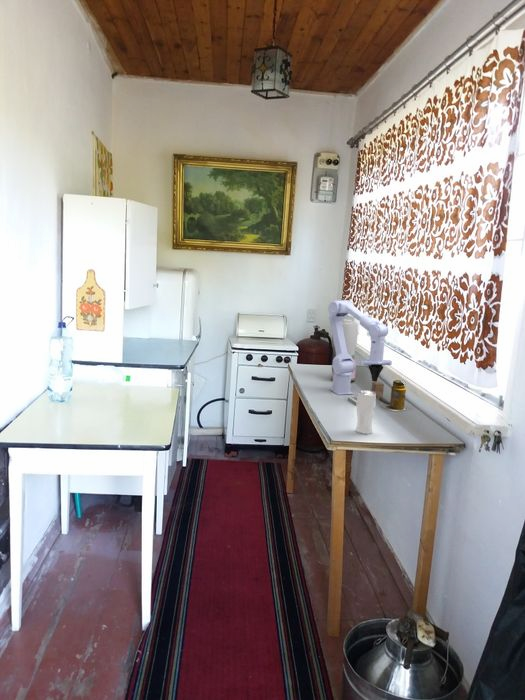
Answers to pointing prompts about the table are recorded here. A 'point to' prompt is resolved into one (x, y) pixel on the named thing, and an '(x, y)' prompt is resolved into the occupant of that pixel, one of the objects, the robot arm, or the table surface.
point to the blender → (349, 341)
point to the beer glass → (365, 411)
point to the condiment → (397, 396)
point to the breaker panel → (353, 400)
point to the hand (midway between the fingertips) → (374, 381)
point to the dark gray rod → (384, 400)
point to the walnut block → (378, 389)
